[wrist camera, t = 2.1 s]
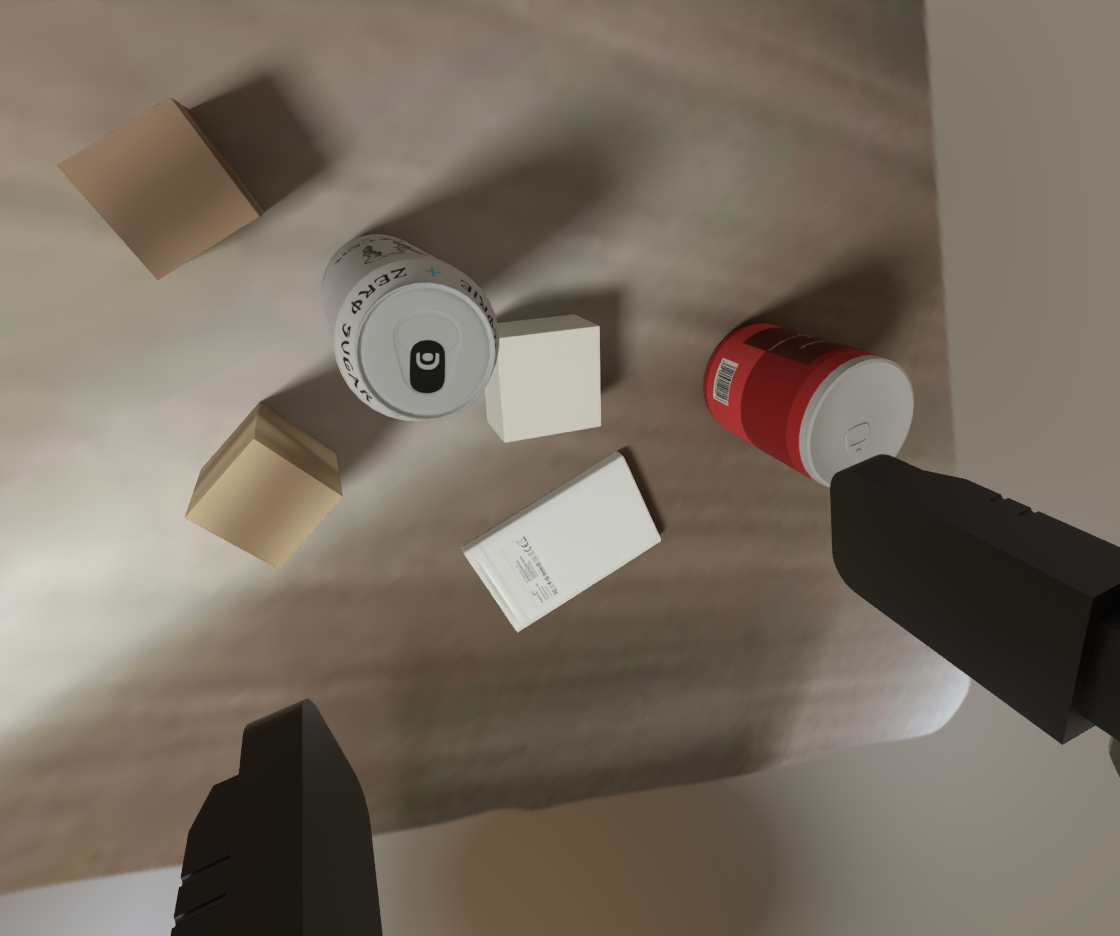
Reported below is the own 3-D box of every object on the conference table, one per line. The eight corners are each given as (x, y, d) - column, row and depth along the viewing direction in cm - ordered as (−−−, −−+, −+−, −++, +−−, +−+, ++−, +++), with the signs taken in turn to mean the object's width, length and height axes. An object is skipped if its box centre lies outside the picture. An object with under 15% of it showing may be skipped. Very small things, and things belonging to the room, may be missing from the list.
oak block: (201, 469, 35) (184, 517, 30) (260, 401, 35) (253, 438, 30) (280, 516, 38) (278, 568, 33) (336, 453, 38) (342, 496, 33)
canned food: (723, 450, 48) (829, 515, 38) (681, 364, 44) (788, 413, 34) (804, 388, 48) (928, 439, 39) (770, 298, 44) (899, 329, 35)
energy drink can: (436, 237, 35) (517, 268, 22) (434, 347, 37) (507, 434, 24) (318, 228, 33) (332, 256, 20) (323, 346, 35) (338, 439, 22)
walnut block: (92, 167, 29) (56, 165, 25) (189, 109, 29) (170, 97, 25) (176, 267, 32) (157, 280, 27) (264, 212, 32) (259, 216, 28)
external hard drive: (652, 532, 49) (512, 622, 48) (613, 447, 45) (458, 543, 43) (663, 542, 48) (518, 635, 46) (624, 455, 44) (464, 555, 42)
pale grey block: (478, 324, 38) (496, 338, 34) (573, 313, 40) (599, 325, 36) (486, 420, 40) (504, 442, 37) (576, 406, 42) (600, 426, 39)
